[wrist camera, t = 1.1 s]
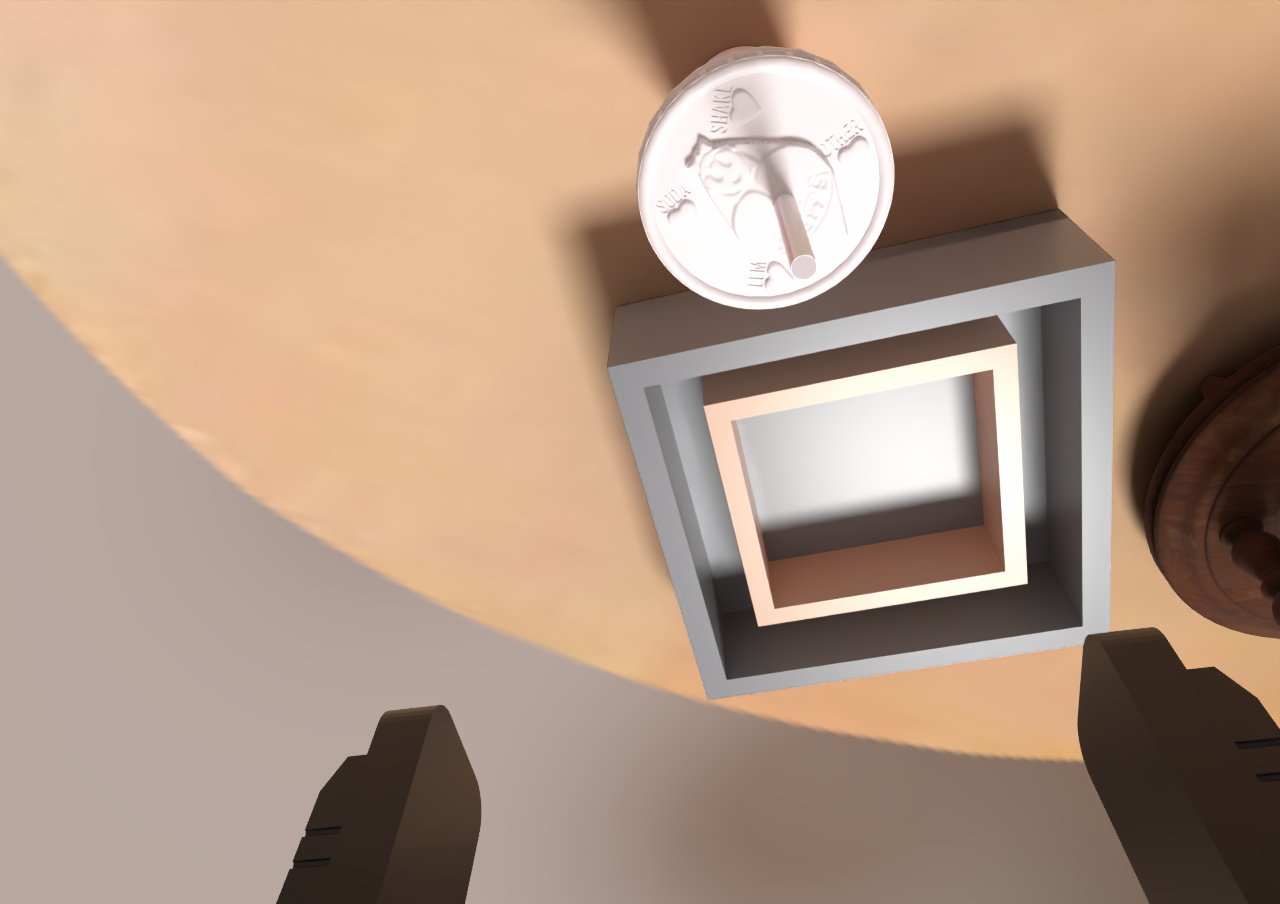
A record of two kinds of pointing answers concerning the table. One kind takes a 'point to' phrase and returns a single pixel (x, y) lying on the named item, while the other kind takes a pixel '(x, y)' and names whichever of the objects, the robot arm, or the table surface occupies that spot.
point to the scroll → (1224, 502)
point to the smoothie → (764, 177)
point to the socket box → (883, 458)
